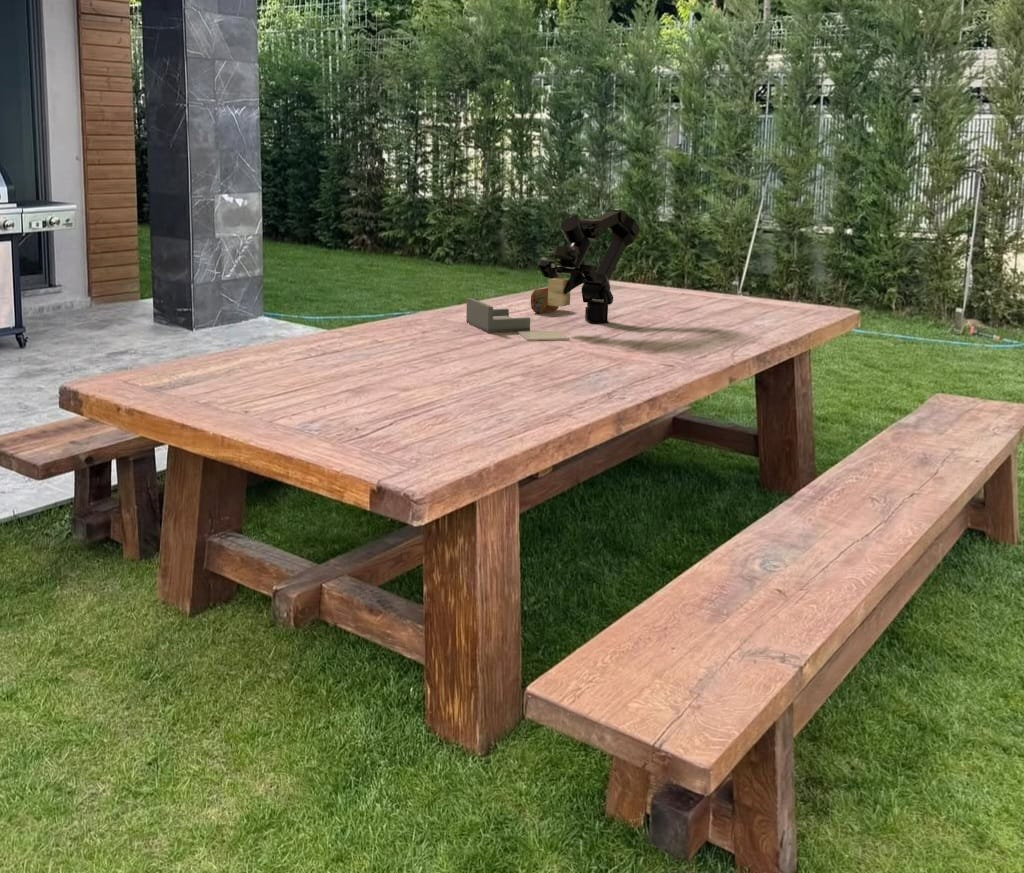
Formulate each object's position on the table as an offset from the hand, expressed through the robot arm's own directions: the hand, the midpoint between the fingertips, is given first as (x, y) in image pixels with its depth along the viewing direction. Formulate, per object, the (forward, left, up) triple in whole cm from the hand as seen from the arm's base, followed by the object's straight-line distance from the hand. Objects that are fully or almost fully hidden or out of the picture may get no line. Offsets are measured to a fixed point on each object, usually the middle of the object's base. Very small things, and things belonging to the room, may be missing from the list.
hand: (556, 292), depth 339 cm
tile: (+5, +6, -12) cm, 15 cm away
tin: (-7, -40, -13) cm, 42 cm away
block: (-1, -1, -4) cm, 4 cm away
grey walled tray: (+16, -12, -12) cm, 23 cm away
